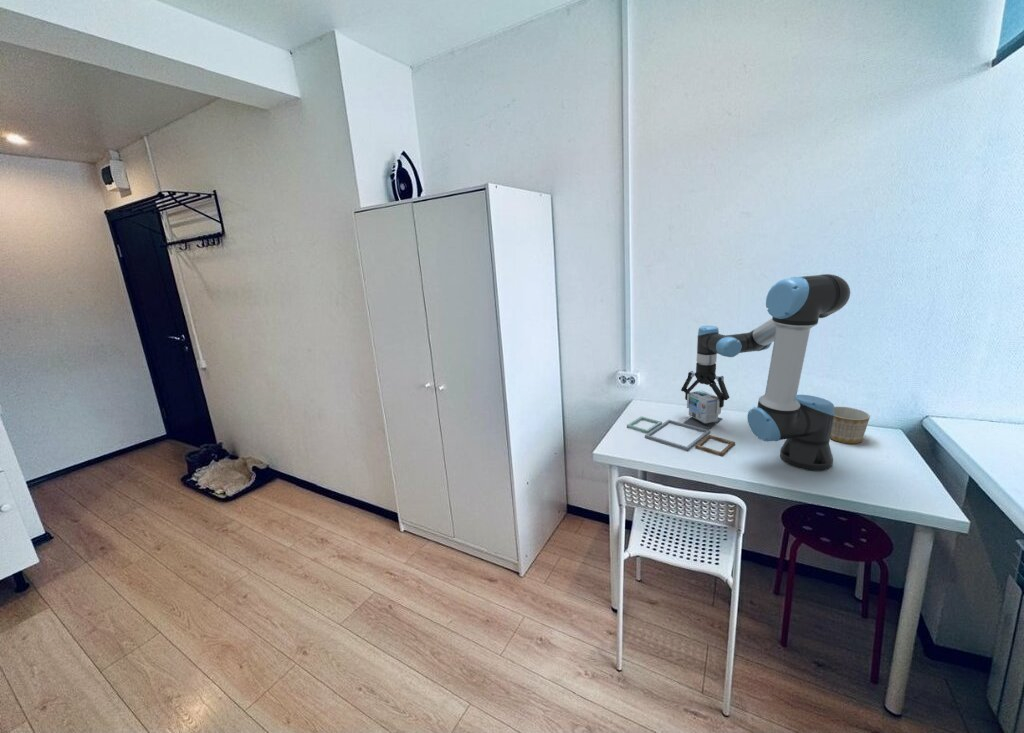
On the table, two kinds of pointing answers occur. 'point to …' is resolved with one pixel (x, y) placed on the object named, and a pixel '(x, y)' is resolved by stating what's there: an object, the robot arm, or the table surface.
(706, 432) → the slate frame
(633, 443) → the table surface
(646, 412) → the table surface
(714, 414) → the light bulb box
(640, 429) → the teal frame
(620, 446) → the table surface
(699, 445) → the walnut frame
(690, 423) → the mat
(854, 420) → the planter
